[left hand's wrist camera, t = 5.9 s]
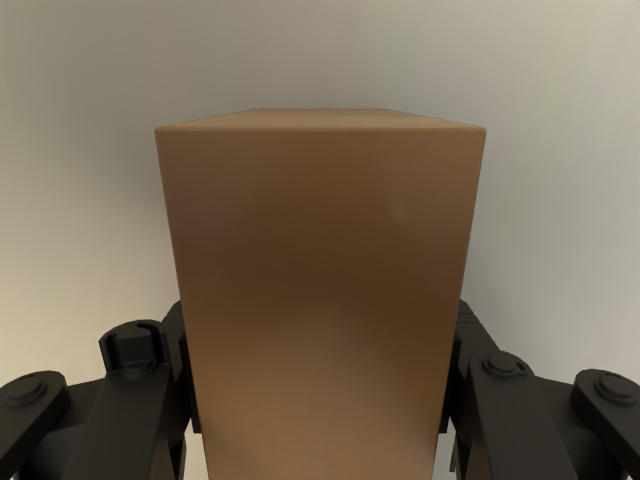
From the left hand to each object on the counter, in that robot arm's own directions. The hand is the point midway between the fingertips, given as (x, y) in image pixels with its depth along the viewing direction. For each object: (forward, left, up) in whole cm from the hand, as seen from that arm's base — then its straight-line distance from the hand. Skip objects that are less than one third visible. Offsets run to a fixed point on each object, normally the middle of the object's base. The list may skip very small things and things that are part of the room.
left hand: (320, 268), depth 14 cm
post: (+18, -13, -1) cm, 23 cm away
